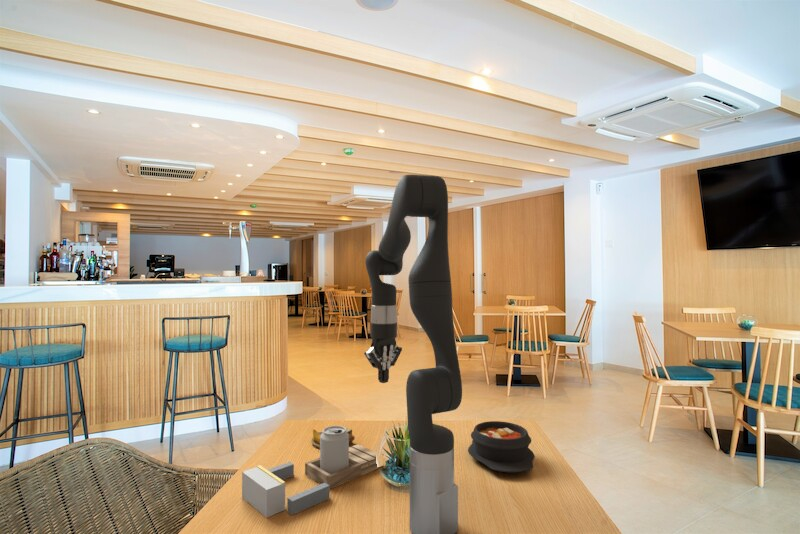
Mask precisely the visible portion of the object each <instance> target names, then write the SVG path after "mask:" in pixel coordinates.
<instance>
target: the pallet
mask: <svg viewBox="0 0 800 534" xmlns="http://www.w3.org/2000/svg"><path fill="white" fill-rule="evenodd" d="M304 464H305V465H304V475H305V476H307V477H308V478H310V479H311V480H313V481H315V482H316V483H318V484H319V485H320V484H322V483H326V484H328V485H330V490H331V489H334V488H336V487H338V486H341V485H344V484H345V483H348V482H349V481H353V480H355V479H357V478H360V477H361V476H364V475H366V474H368V473H371V472H373V471H375V470H378V469H379V468H377V464H376V451H374V450H372V449H370V448H367V447H365V446H363V445H361V444H359V443H357V444H355V445H352V446H349V467H348V468H345V469H343V470H340V471H338V472H335V473H333V474H329V473H327V472H325V471H324V470H322V469H320V457H318V458H315V459H313V460H312V459H311V460H310V461H307V462H304Z"/></svg>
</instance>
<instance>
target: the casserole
mask: <svg viewBox="0 0 800 534" xmlns="http://www.w3.org/2000/svg"><path fill="white" fill-rule="evenodd" d="M470 437H471V439H472V442H471V444H470V445H469V447H468V449H467V452H468V454H469V455H470V457H472V458H473V459H474V460H476V461H478V462H480V463H482V464H484V465H485V466H486V467H487V468H489V469H490V470H492V471H495V472H500V473H512V474H513V473H523V472H527V471H530V470H533V468H534V464H533V463H534V459H535V453H534V452H533V450H531V448H530V447H529V446H530V444H531V443H532V438H531V436H530V435H529V432H528V430H527V429H526V428H525V427H524V426H521V425H519V424H515V423H511V422H507V421H500V420H498V421H497V420H495V421H491V420H489V421H484V422H480V423H478V424H476V425H475V426H474V428H473V431H472V432H471V433H470Z"/></svg>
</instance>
